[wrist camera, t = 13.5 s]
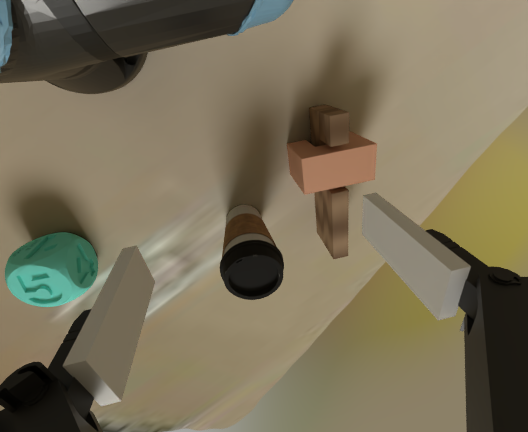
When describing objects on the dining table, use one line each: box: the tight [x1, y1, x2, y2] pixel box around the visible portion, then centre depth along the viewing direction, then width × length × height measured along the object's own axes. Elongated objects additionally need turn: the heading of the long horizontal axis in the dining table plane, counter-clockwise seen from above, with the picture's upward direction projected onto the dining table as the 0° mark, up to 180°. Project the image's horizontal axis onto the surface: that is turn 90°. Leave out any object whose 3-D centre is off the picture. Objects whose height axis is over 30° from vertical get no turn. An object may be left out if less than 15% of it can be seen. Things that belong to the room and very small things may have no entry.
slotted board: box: [309, 105, 349, 259], centre depth 40 cm, size 22×2×8 cm, turn 9°
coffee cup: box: [220, 205, 284, 300], centre depth 39 cm, size 8×8×15 cm
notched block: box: [287, 131, 377, 194], centre depth 38 cm, size 10×5×8 cm, turn 99°
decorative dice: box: [5, 232, 98, 307], centre depth 40 cm, size 8×8×8 cm
